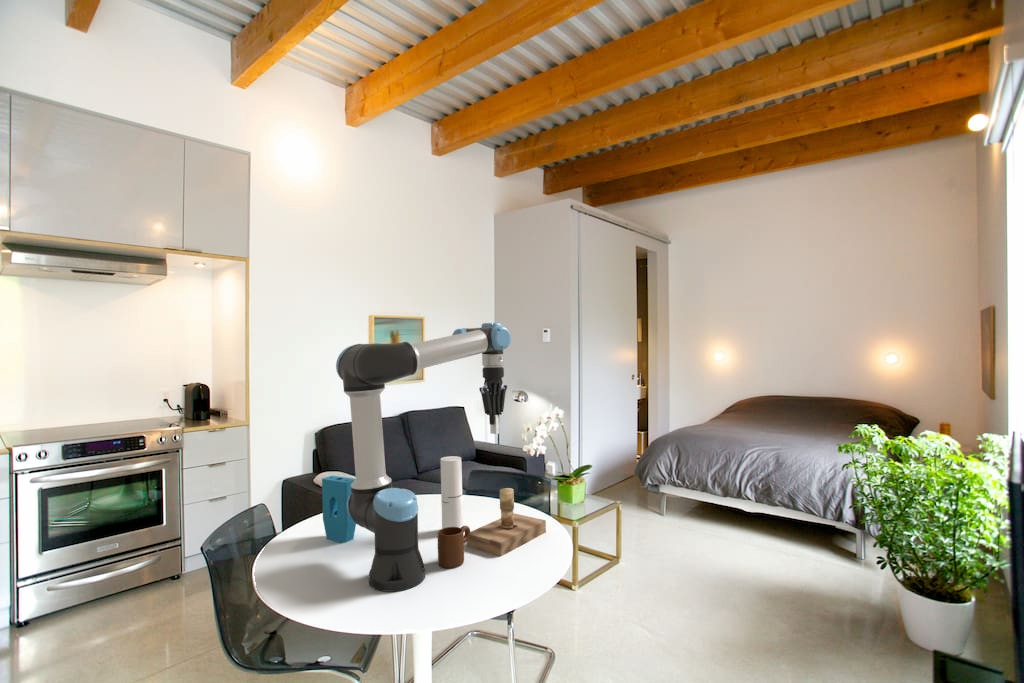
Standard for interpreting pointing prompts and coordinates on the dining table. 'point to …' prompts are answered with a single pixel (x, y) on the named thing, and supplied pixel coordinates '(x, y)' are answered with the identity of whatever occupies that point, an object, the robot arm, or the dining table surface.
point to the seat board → (506, 535)
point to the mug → (452, 546)
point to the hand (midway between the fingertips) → (494, 433)
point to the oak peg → (507, 508)
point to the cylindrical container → (451, 492)
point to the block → (337, 509)
